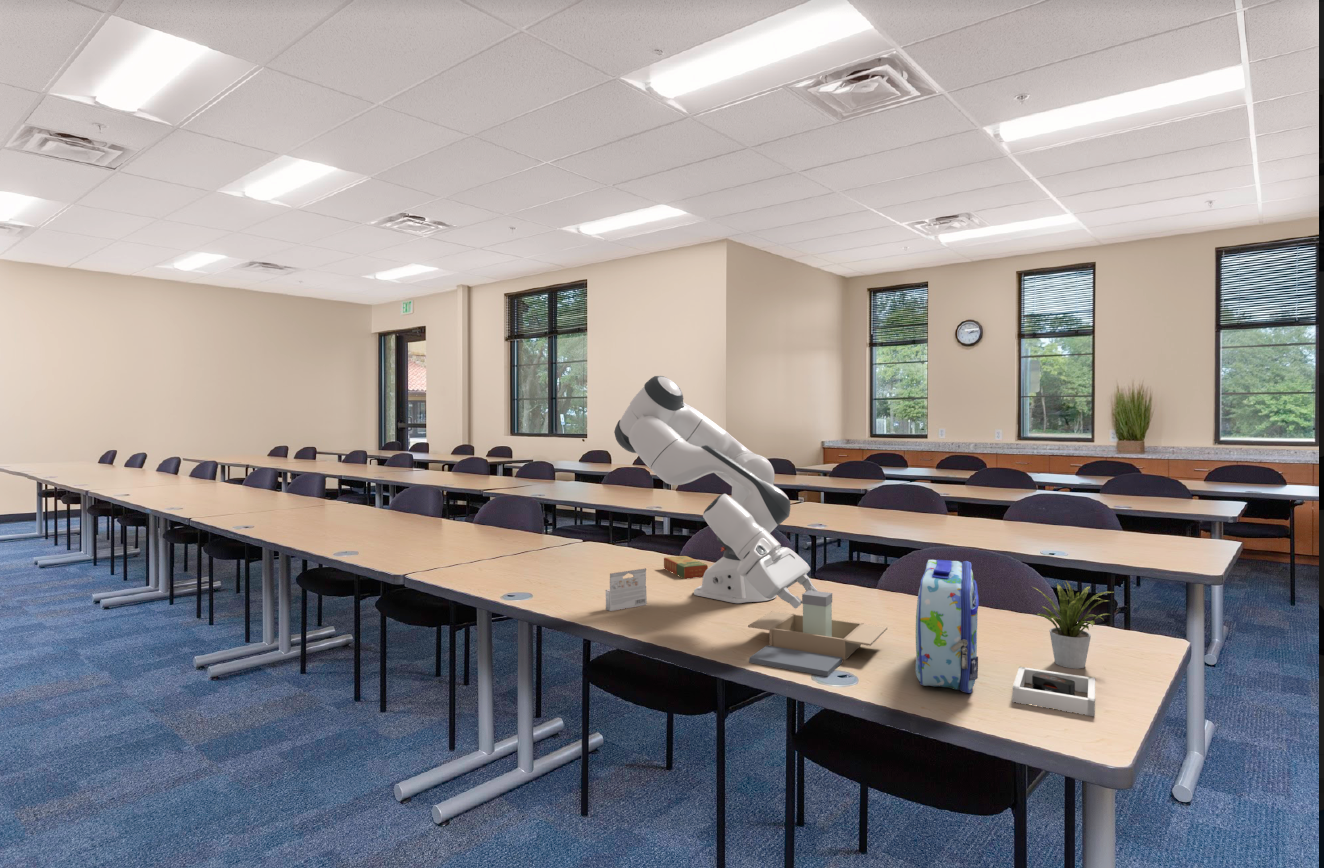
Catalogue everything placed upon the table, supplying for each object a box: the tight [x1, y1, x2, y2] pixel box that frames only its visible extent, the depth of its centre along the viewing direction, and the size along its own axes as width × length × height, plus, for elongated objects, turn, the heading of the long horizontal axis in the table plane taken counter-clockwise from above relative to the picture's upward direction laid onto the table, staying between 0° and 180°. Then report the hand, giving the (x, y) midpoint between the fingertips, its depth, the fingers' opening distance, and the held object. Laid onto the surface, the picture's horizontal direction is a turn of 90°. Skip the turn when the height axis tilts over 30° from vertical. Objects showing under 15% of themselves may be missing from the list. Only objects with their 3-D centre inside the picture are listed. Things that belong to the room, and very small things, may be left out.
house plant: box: [1032, 580, 1113, 670], centre depth 141 cm, size 14×14×16 cm
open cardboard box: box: [747, 610, 888, 661], centre depth 156 cm, size 26×14×4 cm, turn 59°
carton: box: [663, 555, 709, 580], centre depth 229 cm, size 8×16×4 cm, turn 23°
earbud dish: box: [1011, 666, 1096, 717], centre depth 126 cm, size 12×12×2 cm
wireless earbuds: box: [1024, 672, 1076, 696], centre depth 126 cm, size 5×7×3 cm, turn 41°
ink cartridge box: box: [604, 567, 648, 612], centre depth 188 cm, size 2×11×10 cm, turn 123°
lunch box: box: [915, 559, 980, 694], centre depth 137 cm, size 26×11×21 cm, turn 157°
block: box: [801, 590, 833, 637], centre depth 156 cm, size 5×4×11 cm
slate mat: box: [748, 644, 843, 677], centre depth 145 cm, size 16×9×1 cm, turn 59°
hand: (807, 599), depth 156 cm, fingers open, 8 cm apart
